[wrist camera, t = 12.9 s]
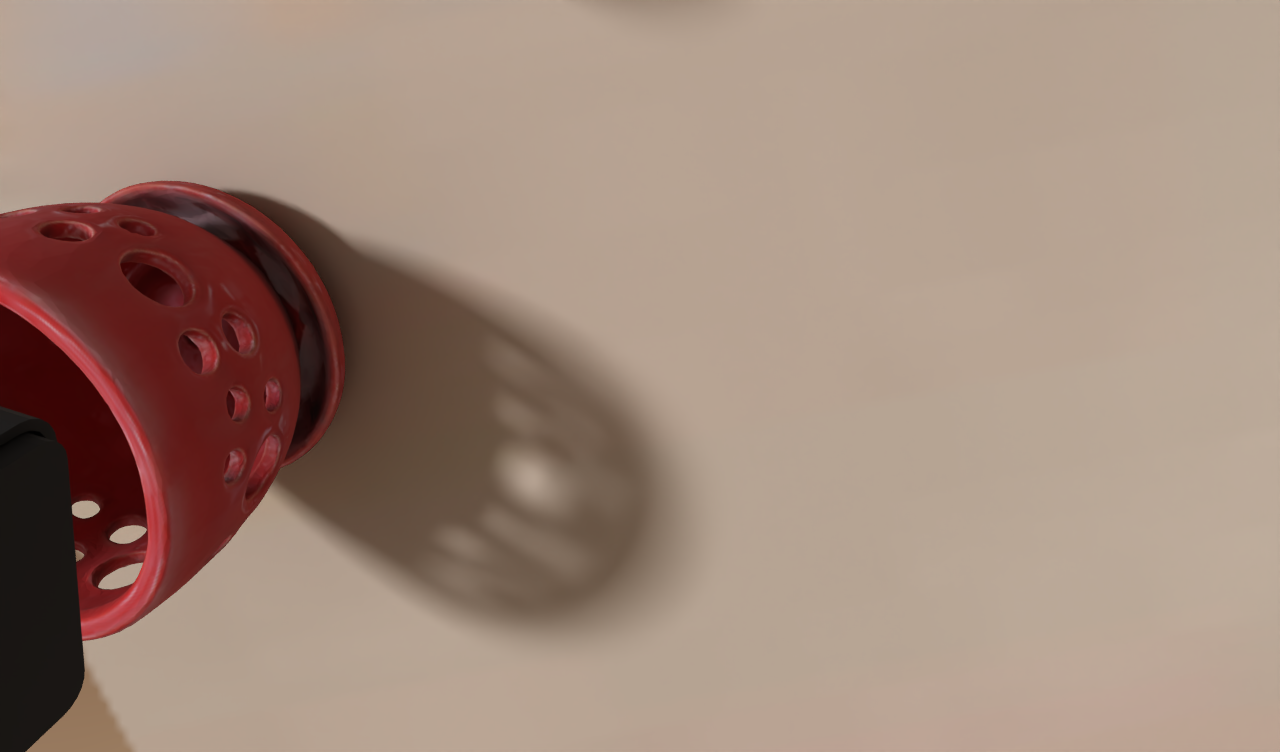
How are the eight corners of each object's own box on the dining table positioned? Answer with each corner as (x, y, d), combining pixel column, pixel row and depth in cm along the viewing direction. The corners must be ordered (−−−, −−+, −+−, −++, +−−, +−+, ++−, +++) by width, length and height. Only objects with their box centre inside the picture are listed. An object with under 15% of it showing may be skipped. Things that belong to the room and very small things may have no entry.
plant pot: (235, 83, 39) (-37, 172, 29) (437, 400, 43) (259, 582, 32) (8, 239, 45) (-289, 360, 34) (202, 508, 48) (-15, 694, 38)
